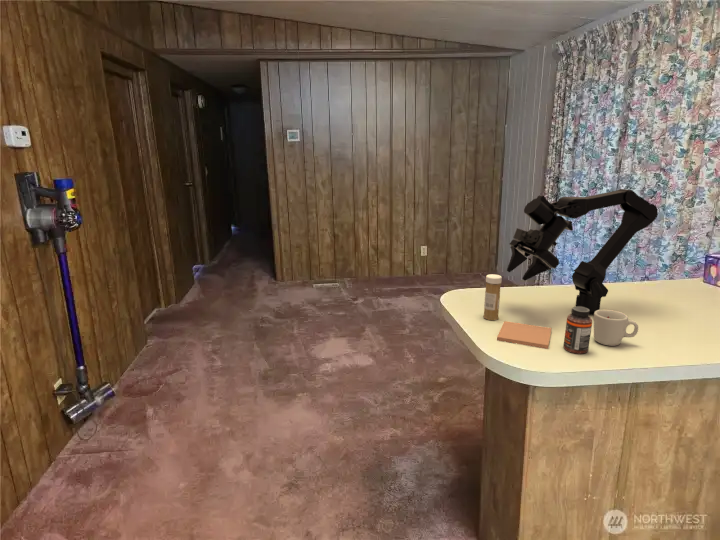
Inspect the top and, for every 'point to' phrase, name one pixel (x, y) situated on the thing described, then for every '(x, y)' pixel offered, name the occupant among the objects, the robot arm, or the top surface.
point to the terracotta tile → (525, 334)
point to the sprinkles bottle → (492, 296)
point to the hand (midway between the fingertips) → (515, 275)
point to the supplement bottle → (578, 330)
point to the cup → (612, 327)
